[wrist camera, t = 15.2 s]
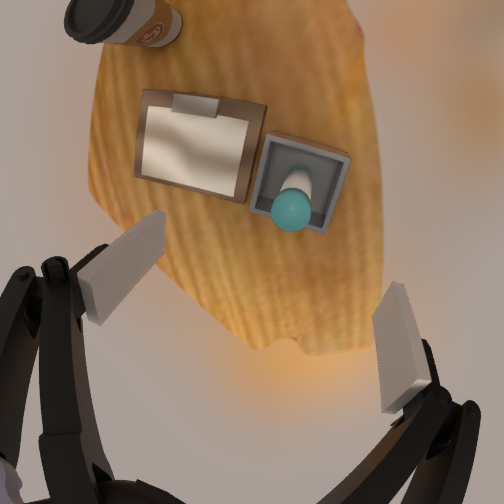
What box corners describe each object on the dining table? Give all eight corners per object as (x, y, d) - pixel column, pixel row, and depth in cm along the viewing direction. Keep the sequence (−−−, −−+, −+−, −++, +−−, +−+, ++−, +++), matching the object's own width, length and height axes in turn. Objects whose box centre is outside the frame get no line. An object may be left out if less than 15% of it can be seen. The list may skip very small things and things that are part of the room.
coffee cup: (154, 65, 30) (75, 59, 17) (129, 30, 27) (53, 16, 15) (201, 28, 26) (134, -5, 14) (173, -7, 24) (105, -41, 11)
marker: (290, 160, 33) (275, 189, 22) (316, 167, 32) (315, 201, 21) (284, 184, 34) (266, 225, 23) (309, 191, 34) (304, 236, 23)
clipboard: (147, 89, 32) (139, 89, 30) (267, 105, 30) (264, 105, 29) (138, 174, 39) (130, 178, 37) (245, 201, 37) (241, 206, 35)
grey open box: (273, 130, 32) (266, 134, 27) (346, 152, 31) (351, 159, 27) (257, 198, 37) (248, 211, 32) (324, 218, 36) (325, 234, 31)
